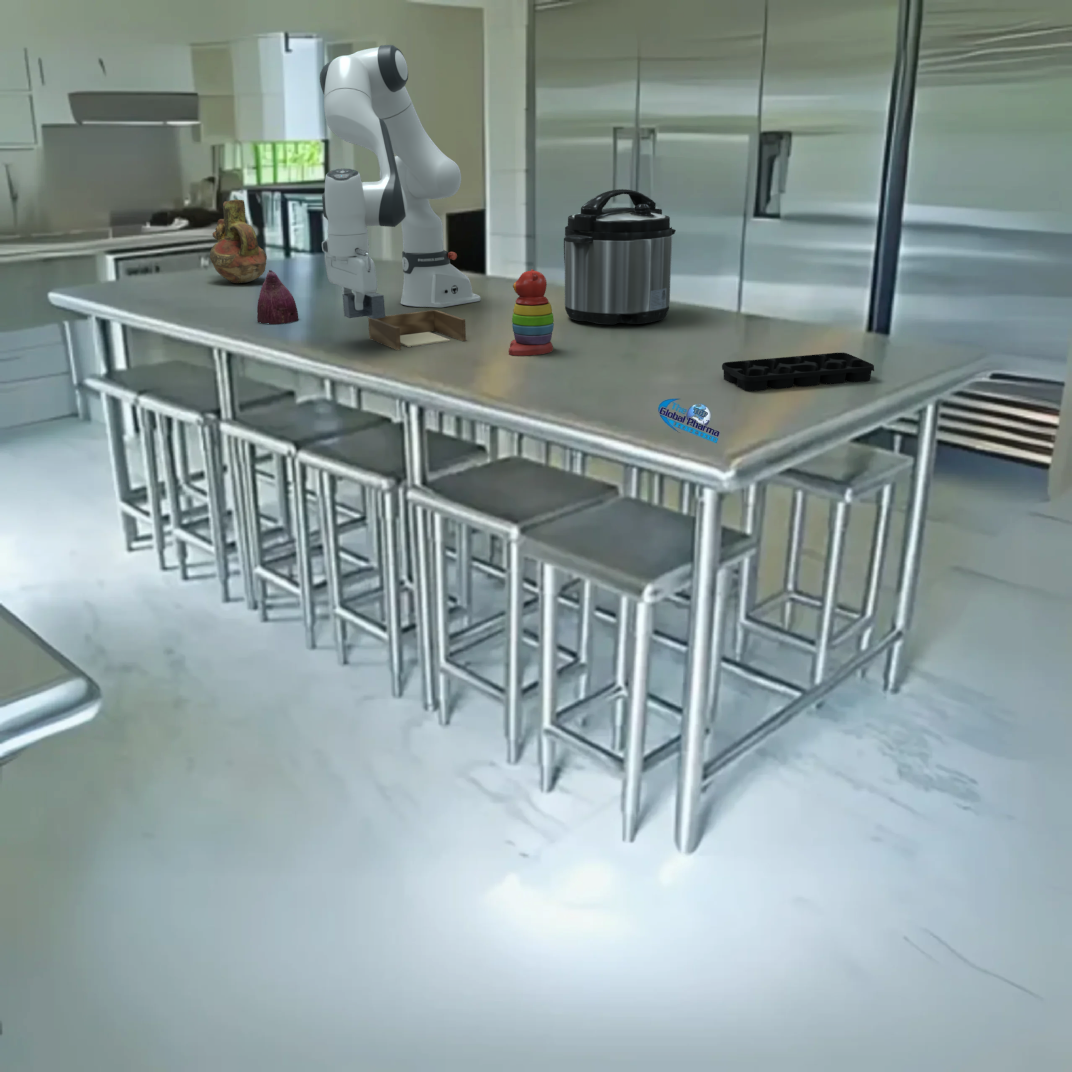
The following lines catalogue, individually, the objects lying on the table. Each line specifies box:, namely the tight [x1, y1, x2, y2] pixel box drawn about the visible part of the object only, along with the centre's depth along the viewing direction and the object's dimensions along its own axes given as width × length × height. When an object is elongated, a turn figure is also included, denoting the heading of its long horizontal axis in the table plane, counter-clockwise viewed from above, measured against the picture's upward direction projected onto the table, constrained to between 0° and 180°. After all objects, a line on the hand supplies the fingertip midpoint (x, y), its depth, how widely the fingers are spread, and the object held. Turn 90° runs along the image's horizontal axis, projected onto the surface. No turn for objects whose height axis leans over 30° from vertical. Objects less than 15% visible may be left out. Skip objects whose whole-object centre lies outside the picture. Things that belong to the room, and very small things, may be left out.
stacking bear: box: [508, 269, 555, 357], centre depth 239 cm, size 11×10×18 cm
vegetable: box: [256, 269, 299, 325], centre depth 275 cm, size 10×10×15 cm
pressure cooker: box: [563, 188, 676, 325], centre depth 271 cm, size 30×28×32 cm
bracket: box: [342, 292, 386, 319], centre depth 244 cm, size 7×7×5 cm
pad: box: [400, 332, 451, 348], centre depth 254 cm, size 11×11×1 cm
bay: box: [367, 309, 467, 351], centre depth 254 cm, size 18×15×5 cm
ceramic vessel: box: [209, 199, 268, 284], centre depth 333 cm, size 17×26×25 cm, turn 43°
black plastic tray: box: [721, 352, 875, 392], centre depth 215 cm, size 18×30×4 cm, turn 118°
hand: (354, 308), depth 245 cm, fingers closed on bracket, 3 cm apart
